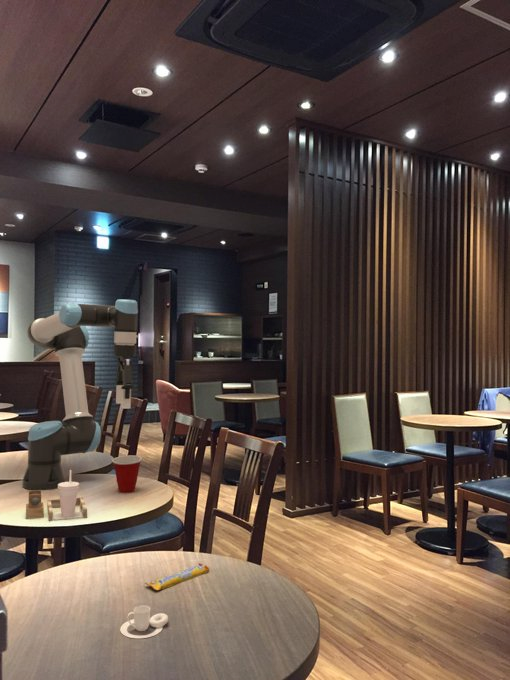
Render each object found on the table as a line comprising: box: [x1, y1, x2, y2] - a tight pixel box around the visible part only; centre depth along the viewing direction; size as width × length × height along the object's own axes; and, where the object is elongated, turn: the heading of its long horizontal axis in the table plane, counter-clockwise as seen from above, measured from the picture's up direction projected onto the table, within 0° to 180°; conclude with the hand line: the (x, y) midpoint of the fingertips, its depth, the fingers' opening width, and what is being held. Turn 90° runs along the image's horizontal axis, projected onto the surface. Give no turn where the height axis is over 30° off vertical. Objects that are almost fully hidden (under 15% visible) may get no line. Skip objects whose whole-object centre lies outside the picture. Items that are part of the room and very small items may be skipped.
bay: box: [46, 496, 88, 522], centre depth 182 cm, size 15×11×2 cm
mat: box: [53, 511, 83, 521], centre depth 178 cm, size 6×8×1 cm
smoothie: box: [57, 469, 80, 517], centre depth 178 cm, size 6×6×14 cm
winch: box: [25, 490, 45, 520], centre depth 179 cm, size 6×5×7 cm
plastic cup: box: [111, 455, 143, 494], centre depth 210 cm, size 11×11×12 cm
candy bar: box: [144, 562, 210, 591], centre depth 133 cm, size 17×4×2 cm, turn 138°
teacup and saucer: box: [119, 605, 169, 640], centre depth 109 cm, size 9×8×4 cm
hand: (122, 406), depth 199 cm, fingers open, 13 cm apart
